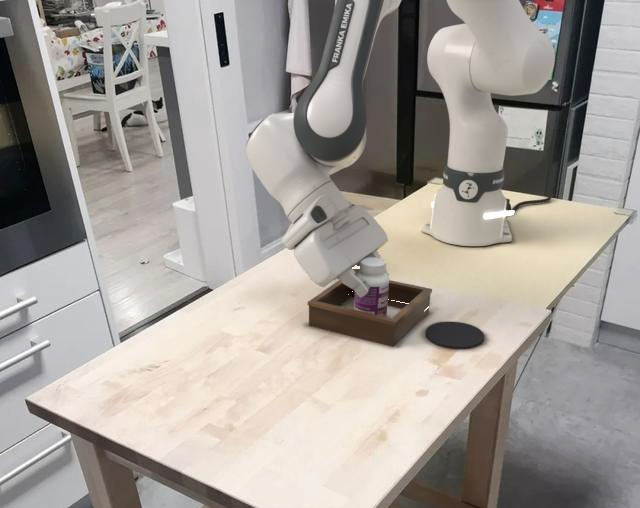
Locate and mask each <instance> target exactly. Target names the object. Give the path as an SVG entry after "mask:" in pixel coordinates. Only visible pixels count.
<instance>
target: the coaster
mask: <svg viewBox="0 0 640 508" xmlns="http://www.w3.org/2000/svg"><path fill="white" fill-rule="evenodd" d="M425 337H426V339H427V340H428V341H429V342H430V343H432V344H434V345H436V346H438V347H442V348H446V349H453V350H468V349H473V348H476V347H478V346H480V345H481V344H483V343H484V341H485V334H484V332H483V331H482V330H481V329H480V328H479V327H476V326H474V325H473V324H469V323H465V322H461V321H439V322H435V323H432V324H431V325H428V327H427V328H426V329H425Z"/></svg>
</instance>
